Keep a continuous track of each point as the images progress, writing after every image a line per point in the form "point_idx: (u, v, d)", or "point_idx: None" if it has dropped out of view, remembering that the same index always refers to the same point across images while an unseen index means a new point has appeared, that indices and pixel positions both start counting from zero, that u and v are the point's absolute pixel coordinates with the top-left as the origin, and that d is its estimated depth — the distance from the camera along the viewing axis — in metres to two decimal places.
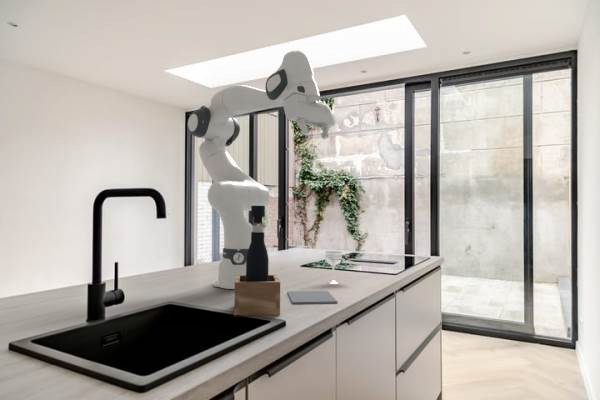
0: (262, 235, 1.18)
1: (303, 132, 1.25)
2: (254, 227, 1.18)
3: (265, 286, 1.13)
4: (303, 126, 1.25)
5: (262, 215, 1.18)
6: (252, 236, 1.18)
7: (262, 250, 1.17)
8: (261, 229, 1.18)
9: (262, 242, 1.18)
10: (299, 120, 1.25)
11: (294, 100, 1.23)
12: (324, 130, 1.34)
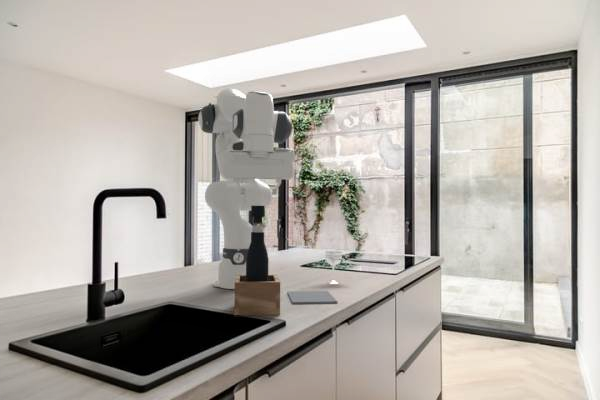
0: (262, 235, 1.18)
1: None
2: (254, 227, 1.18)
3: (265, 286, 1.13)
4: (238, 186, 1.18)
5: (262, 215, 1.18)
6: (252, 236, 1.18)
7: (262, 250, 1.17)
8: (261, 229, 1.18)
9: (262, 242, 1.18)
10: (235, 179, 1.18)
11: (226, 160, 1.16)
12: (277, 185, 1.20)
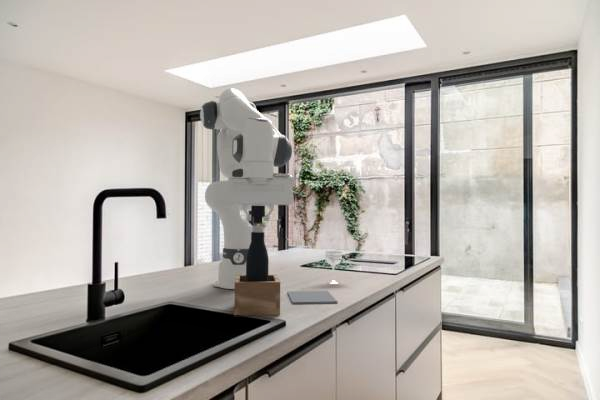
0: (262, 235, 1.18)
1: None
2: (254, 227, 1.18)
3: (265, 286, 1.13)
4: (245, 213, 1.18)
5: (262, 215, 1.18)
6: (252, 236, 1.18)
7: (262, 250, 1.17)
8: (261, 229, 1.18)
9: (262, 242, 1.18)
10: (242, 206, 1.18)
11: (226, 187, 1.16)
12: None
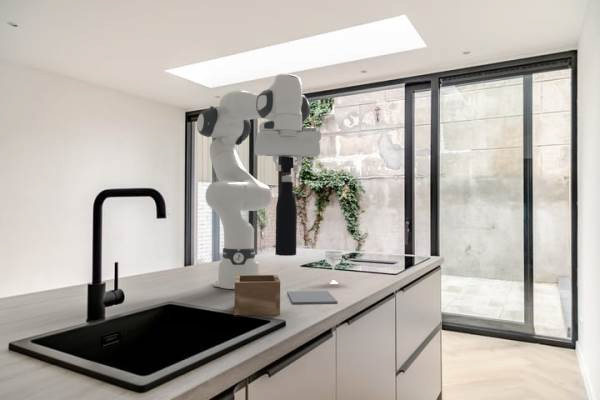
0: (291, 184, 1.26)
1: (276, 169, 1.27)
2: (284, 177, 1.26)
3: (265, 286, 1.13)
4: (275, 163, 1.26)
5: (291, 166, 1.26)
6: (282, 185, 1.26)
7: (291, 198, 1.25)
8: (290, 179, 1.26)
9: (291, 191, 1.26)
10: None
11: (258, 138, 1.24)
12: None
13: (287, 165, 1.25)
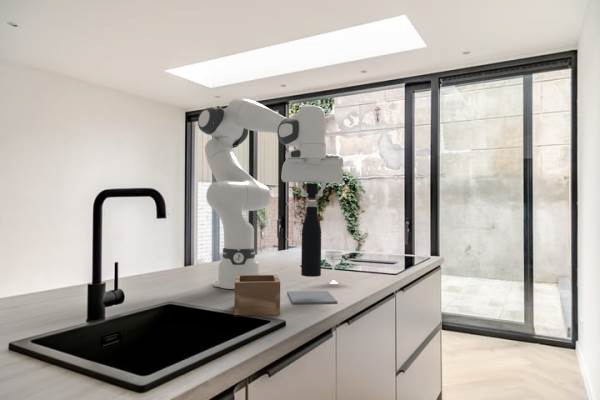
0: (316, 209, 1.34)
1: (301, 194, 1.35)
2: (309, 202, 1.34)
3: (265, 286, 1.13)
4: (301, 189, 1.34)
5: (316, 191, 1.34)
6: (307, 210, 1.34)
7: (316, 222, 1.33)
8: (315, 204, 1.34)
9: (316, 216, 1.34)
10: (298, 183, 1.35)
11: (285, 166, 1.32)
12: None
13: (312, 191, 1.33)
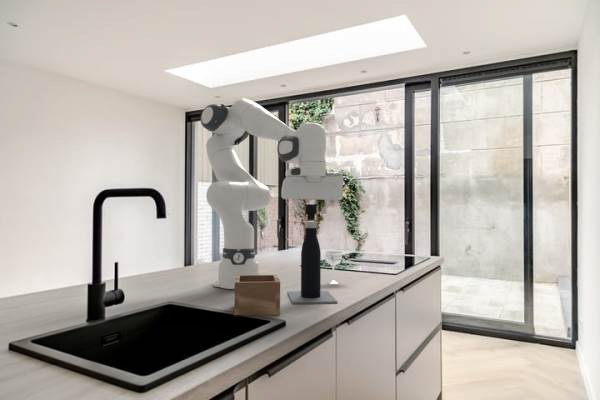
0: (315, 230, 1.34)
1: (297, 211, 1.35)
2: (308, 223, 1.33)
3: (265, 286, 1.13)
4: (296, 206, 1.34)
5: (315, 213, 1.33)
6: (306, 231, 1.33)
7: (316, 243, 1.33)
8: (314, 225, 1.34)
9: (315, 237, 1.33)
10: (294, 200, 1.34)
11: (285, 184, 1.32)
12: (326, 205, 1.36)
13: (311, 212, 1.33)
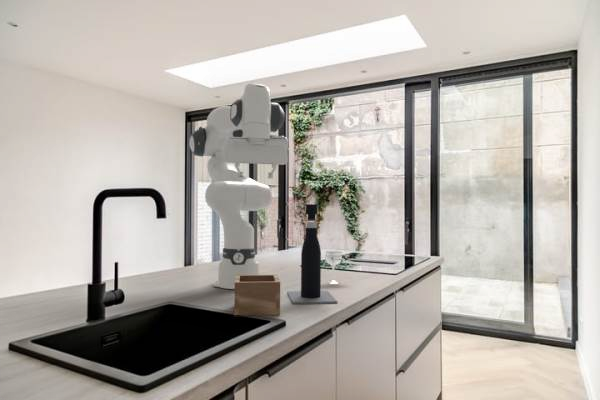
0: (316, 230, 1.34)
1: (238, 175, 1.31)
2: (309, 223, 1.34)
3: (265, 286, 1.13)
4: (237, 170, 1.30)
5: (316, 213, 1.34)
6: (307, 231, 1.34)
7: (316, 243, 1.33)
8: (315, 225, 1.34)
9: (315, 237, 1.33)
10: (235, 164, 1.30)
11: (227, 146, 1.28)
12: None
13: (312, 212, 1.33)
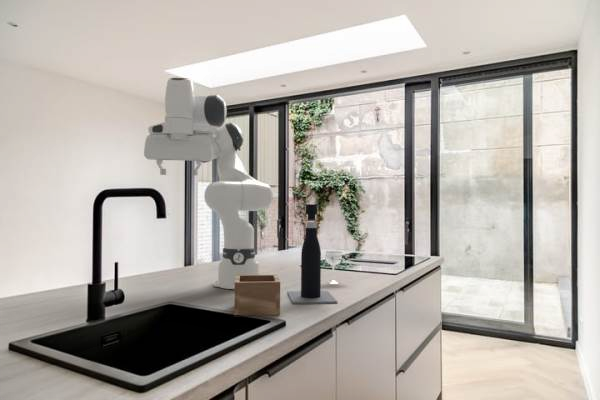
0: (316, 230, 1.34)
1: None
2: (308, 223, 1.34)
3: (265, 286, 1.13)
4: (159, 167, 1.25)
5: (316, 213, 1.34)
6: (307, 231, 1.34)
7: (316, 243, 1.33)
8: (315, 225, 1.34)
9: (315, 237, 1.33)
10: None
11: (146, 142, 1.23)
12: (197, 166, 1.27)
13: (312, 212, 1.33)
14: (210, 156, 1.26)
